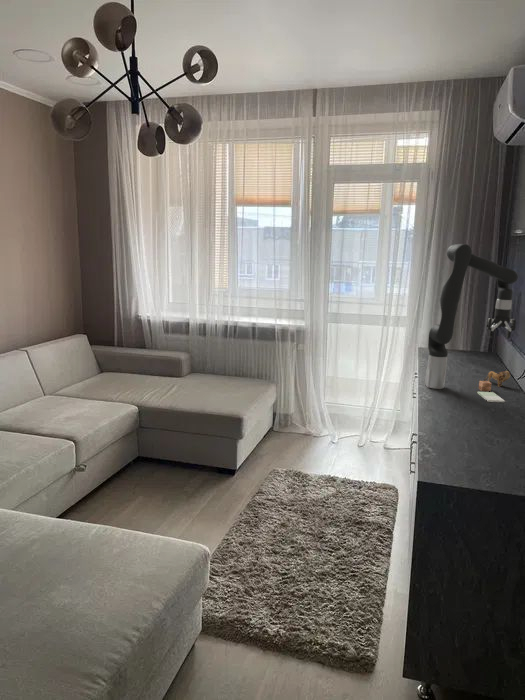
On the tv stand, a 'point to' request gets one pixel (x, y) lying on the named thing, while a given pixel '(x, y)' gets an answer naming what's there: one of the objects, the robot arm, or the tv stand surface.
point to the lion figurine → (498, 376)
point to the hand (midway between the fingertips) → (499, 337)
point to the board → (491, 397)
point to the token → (485, 386)
